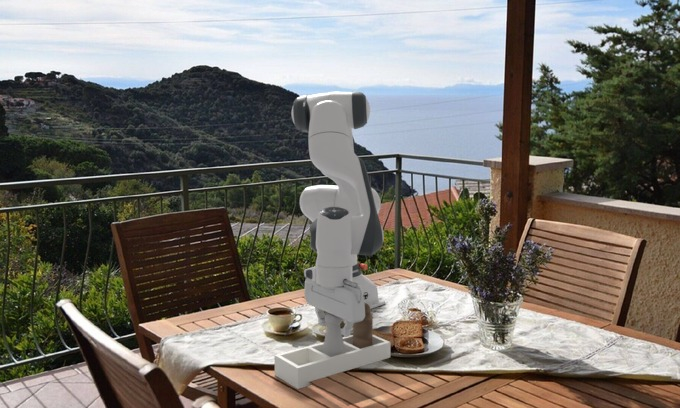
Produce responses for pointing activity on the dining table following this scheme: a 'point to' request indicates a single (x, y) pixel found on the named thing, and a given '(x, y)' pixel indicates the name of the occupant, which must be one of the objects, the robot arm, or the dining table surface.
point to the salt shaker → (333, 336)
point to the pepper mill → (363, 330)
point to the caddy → (326, 361)
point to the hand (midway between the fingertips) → (334, 330)
